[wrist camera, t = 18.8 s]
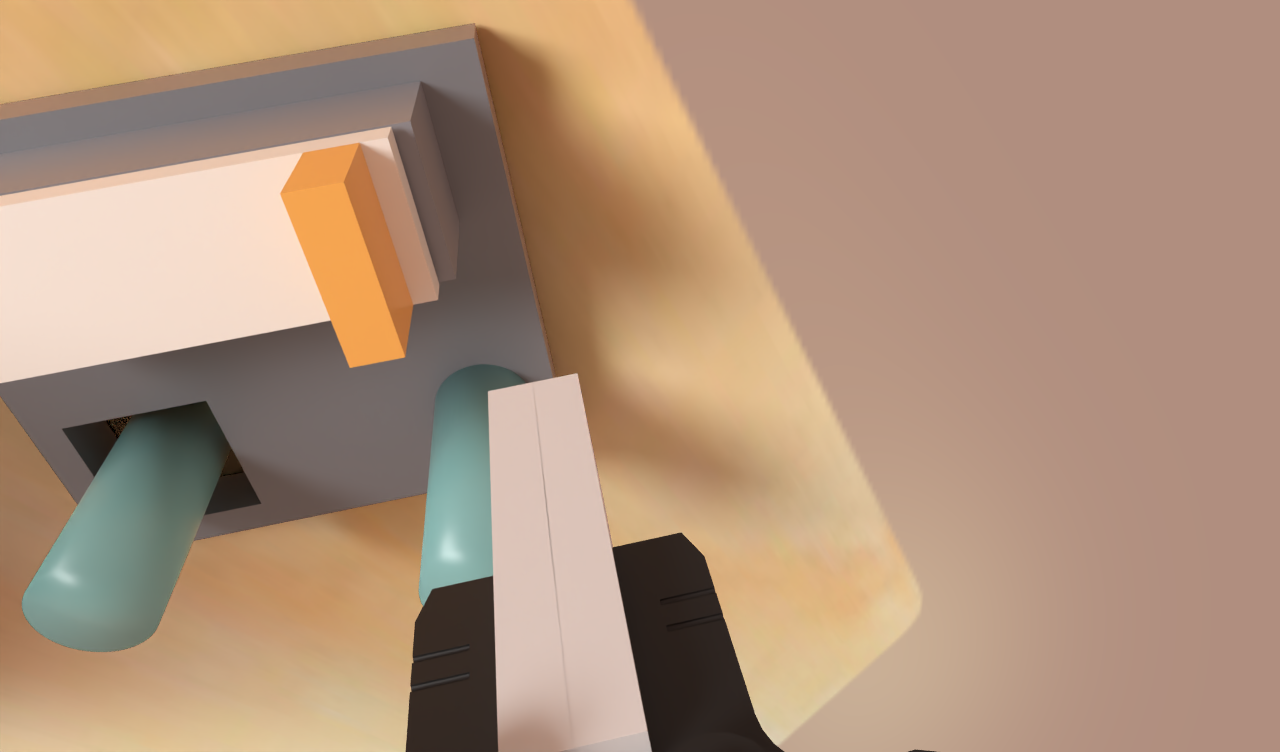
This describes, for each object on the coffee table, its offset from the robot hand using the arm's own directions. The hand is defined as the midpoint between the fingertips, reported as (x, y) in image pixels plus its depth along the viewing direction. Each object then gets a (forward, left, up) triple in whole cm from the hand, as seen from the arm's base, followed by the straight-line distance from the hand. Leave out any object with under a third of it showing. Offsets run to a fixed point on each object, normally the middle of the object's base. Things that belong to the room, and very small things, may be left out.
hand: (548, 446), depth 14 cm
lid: (-11, 0, -12) cm, 17 cm away
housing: (-11, -6, -20) cm, 23 cm away
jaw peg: (-17, -10, -20) cm, 28 cm away
